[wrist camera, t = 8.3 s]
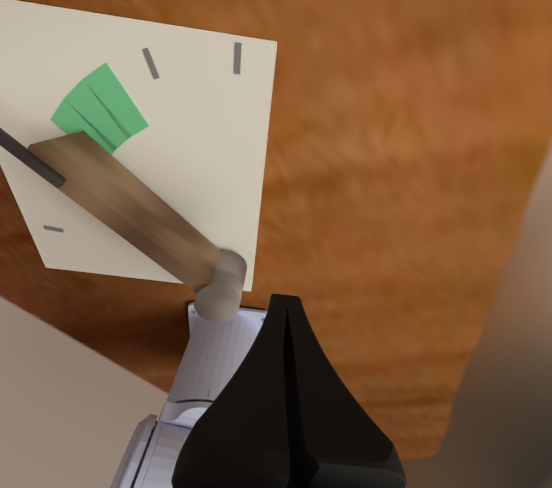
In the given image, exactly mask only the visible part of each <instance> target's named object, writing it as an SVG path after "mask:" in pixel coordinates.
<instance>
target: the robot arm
mask: <svg viewBox="0 0 552 488" xmlns="http://www.w3.org/2000/svg"><path fill="white" fill-rule="evenodd" d="M193 310H194V311H193ZM188 316H189V329H190V339H189V341H188V344H187V347H186V350H185V352H184V355H183V358H182V360H181V363H180V366H179V368H178V371H177V374H176V377H175V379H174V382H173V385H172V387H171V390H170V393H169V396H168V398H167V401H166V402H165V404H164V406H163V409H162V412H161V414H160V417H159V419H158V421H156V418H157V415H153V414H150V415H149V416H148V417H147V418H145V419H144V420H142V421H141V422H139V423H138V425H137V427H136V429H135V431H134V433H133V436H132V438H131V440H130V442H129V444H128V446H127V449H126V451H125V453H124V456H123V458H122V460H121V463H120V465H119V467H118V470H117V472H116V474H115V477H114V479H113V482H112V484H111V487H110V488H404V487H405V486H406V477H405V473H404V470H403V467H402V464H401V461H400V459H399V456H398V454H397V451H396V449H395V447H394V444H393V443H392V442H391V441H390V439H389V438H388V437H387V436H386V435H385V434H384V433H383V432H382V431H381V430H380V429H379V427H378V426H377V425H376V424H375V423H374V422H373V421H372V419H371V418H370V417H369V416H368V415H367V413H366V412H365V411H364V410H363V409H362V407H361V406H360V405H359V404H358V402H357V401H356V400H355V398H354V397H353V396H352V394H351V393H350V392H349V390H348V389H347V388H346V386H345V385H344V384H343V382H342V381H341V379H340V378H339V376H338V375H337V373H336V372H335V370H334V369H333V367H332V365H331V364H330V362H329V360H328V359H327V357H326V355H325V354H324V352H323V350H322V348H321V346H320V344H319V342H318V340H317V338H316V336H315V334H314V332H313V330H312V328H311V326H310V323H309V321H308V319H307V316H306V314H305V311H304V308H303V305H302V302H301V299H300V298H299V297H298V296H289V295H281V294H272V295H271V298H270V304H269V308H268V311H265V310H257V309H248V308H239V311H238V314H237V316H236V317H235V318H234V319H233V320H231V321H229V322H225V323H214V322H210V321H207V320H205V319H203V318H202V317H200V316H199V315H198V314H197V312H196V311H195V309H194V302H191V303H190V304H189V305H188ZM263 318H265V319H263Z"/></svg>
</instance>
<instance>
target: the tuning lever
mask: <svg viewBox="0 0 552 488" xmlns="http://www.w3.org/2000/svg"><path fill="white" fill-rule="evenodd" d="M0 146H1V147H3V148H4V149H5V150H7V151H8V152H9V153H11V154H12V155H13V156H15V157H16V158H17V159H19V160H20V161H21V162H22V163H24V164H25V165H26V166H28V167H29V168H30V169H32V170H33V171H34V172H36V173H37V174H38V175H40V176H41V177H42V178H44V179H45V180H46V181H48V182H49V183H50V184H52V185H53V186H54V187H56V188H57V189H58V190H60V191H61V192H62V193H64V194H65V195H66V196H68V197H69V198H70V199H72V200H73V201H74V202H76V203H77V204H78V205H80V206H81V207H82V208H84V209H85V210H86V211H88V212H89V213H90V214H92V215H93V216H94V217H96V218H97V219H98V220H100V221H101V222H102V223H104V224H105V225H106V226H108V227H109V228H110V229H112V230H113V231H114V232H116V233H117V234H118V235H120V236H121V237H122V238H124V239H125V240H126V241H128V242H129V243H130V244H132V245H133V246H134V247H136V248H137V249H138V250H140V251H141V252H142V253H144V254H145V255H146V256H148V257H149V258H150V259H152V260H153V261H154V262H156V263H157V264H158V265H160V266H161V267H162V268H164V269H165V270H166V271H168V272H169V273H170V274H172V275H173V276H174V277H175V278H177V279H178V280H179V281H181V282H182V283H183V284H185V285H186V286H187V287H189V288H190V289H191V290H193V291H194V292H195V293H197V296H196V298H195V301H194V309H195V311H196V312H197V314H198V315H199V316H200V317H202V318H203V319H205V320H207V321H210V322H214V323H225V322H229V321H231V320H233V319H234V318H235V317H236V316H237V314H238V311H239V306H240V301H241V296H242V291H243V286H244V281H245V276H246V271H247V264H246V261H245V260H244V258H243V257H242V256H241V255H239V254H237V253H235V252H232V251H220V250H219V249H218V248H217V247H216V246H215V245H214V244H213V243H211V242H210V241H209V240H208V239H207V238H206V237H205V236H203V235H202V234H201V233H200V232H199V231H198V230H197V229H195V228H194V227H193V226H192V225H191V224H190V223H189V222H187V221H186V220H185V219H184V218H183V217H182V216H181V215H179V214H178V213H177V212H176V211H175V210H174V209H173V208H171V207H170V206H169V205H168V204H167V203H166V202H165V201H163V200H162V199H161V198H160V197H159V196H158V195H157V194H155V193H154V192H153V191H152V190H151V189H150V188H149V187H147V186H146V185H145V184H144V183H143V182H142V181H141V180H139V179H138V178H137V177H136V176H135V175H134V174H133V173H131V172H130V171H129V170H128V169H127V168H126V167H125V166H123V165H122V164H121V163H120V162H119V161H118V160H117V159H116V158H114V157H113V156H112V155H111V154H110V153H109V152H108V151H106V150H105V149H104V148H103V147H102V146H101V145H100V144H98V143H97V142H96V141H95V140H94V139H93V138H92V137H90V136H89V135H88V134H87V133H86V132H85V131H80V132H76V133H72V134H68V135H65V136H61V137H57V138H53V139H49V140H45V141H41V142H38V143H34V144H30V145H29V147H28V148H26V147H24V146H23V145H22V144H21V143H19V142H18V141H17V140H15V139H14V138H13V137H12V136H10V135H9V134H8V133H6V132H5V131H4V130H3V129H1V128H0Z"/></svg>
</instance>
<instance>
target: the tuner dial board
mask: <svg viewBox="0 0 552 488" xmlns="http://www.w3.org/2000/svg"><path fill="white" fill-rule="evenodd" d="M276 51H277V42H276V41H269V40H263V39H257V38H250V37H244V36H238V35H231V34H225V33H219V32H212V31H206V30H200V29H193V28H187V27H181V26H174V25H168V24H162V23H155V22H149V21H143V20H136V19H130V18H124V17H117V16H111V15H105V14H98V13H92V12H86V11H80V10H73V9H67V8H61V7H54V6H48V5H42V4H35V3H29V2H23V1H16V0H0V128H1V129H3V130H4V131H5V132H6V133H8V134H9V135H10V136H12V137H13V138H14V139H15V140H17V141H18V142H19V143H21V144H22V145H23V146H24V147H26V148H28V147H29V145H30V144H34V143H38V142H41V141H45V140H49V139H53V138H57V137H61V136H65V135H68V134H72V133H76V132H80V131H85V132H86V133H87V134H88V135H89V136H90V137H92V138H93V139H94V140H95V141H96V142H97V143H98V144H100V145H101V146H102V147H103V148H104V149H105V150H106V151H108V152H109V153H110V154H111V155H112V156H113V157H114V158H116V159H117V160H118V161H119V162H120V163H121V164H122V165H123V166H125V167H126V168H127V169H128V170H129V171H130V172H131V173H133V174H134V175H135V176H136V177H137V178H138V179H139V180H141V181H142V182H143V183H144V184H145V185H146V186H147V187H149V188H150V189H151V190H152V191H153V192H154V193H155V194H157V195H158V196H159V197H160V198H161V199H162V200H163V201H165V202H166V203H167V204H168V205H169V206H170V207H171V208H173V209H174V210H175V211H176V212H177V213H178V214H179V215H181V216H182V217H183V218H184V219H185V220H186V221H187V222H189V223H190V224H191V225H192V226H193V227H194V228H195V229H197V230H198V231H199V232H200V233H201V234H202V235H203V236H205V237H206V238H207V239H208V240H209V241H210V242H211V243H213V244H214V245H215V246H216V247H217V248H218V249H219V250H220V251H232V252H235V253H237V254H239V255H241V256H242V257H243V258H244V260H245V261H246V264H247V271H246V276H245V281H244V286H243V291H250V292H251V289H252V282H253V272H254V263H255V253H256V244H257V234H258V224H259V215H260V205H261V196H262V186H263V176H264V167H265V157H266V147H267V138H268V128H269V119H270V109H271V99H272V90H273V80H274V71H275V61H276ZM0 165H1V167H2V170H3V172H4V174H5V177H6V179H7V181H8V183H9V186H10V188H11V190H12V192H13V195H14V197H15V199H16V201H17V204H18V206H19V208H20V210H21V213H22V215H23V217H24V219H25V222H26V224H27V226H28V228H29V231H30V233H31V235H32V238H33V240H34V242H35V244H36V247H37V249H38V251H39V253H40V256H41V258H42V260H43V262H44V265H45V267H46V268H54V269H63V270H71V271H80V272H88V273H97V274H105V275H114V276H122V277H131V278H139V279H148V280H156V281H165V282H173V283H182V282H181V281H179V280H178V279H177V278H175V277H174V276H173V275H172V274H170V273H169V272H168V271H166V270H165V269H164V268H162V267H161V266H160V265H158V264H157V263H156V262H154V261H153V260H152V259H150V258H149V257H148V256H146V255H145V254H144V253H142V252H141V251H140V250H138V249H137V248H136V247H134V246H133V245H132V244H130V243H129V242H128V241H126V240H125V239H124V238H122V237H121V236H120V235H118V234H117V233H116V232H114V231H113V230H112V229H110V228H109V227H108V226H106V225H105V224H104V223H102V222H101V221H100V220H98V219H97V218H96V217H94V216H93V215H92V214H90V213H89V212H88V211H86V210H85V209H84V208H82V207H81V206H80V205H78V204H77V203H76V202H74V201H73V200H72V199H70V198H69V197H68V196H66V195H65V194H64V193H62V192H61V191H60V190H58V189H57V188H56V187H54V186H53V185H52V184H50V183H49V182H48V181H46V180H45V179H44V178H42V177H41V176H40V175H38V174H37V173H36V172H34V171H33V170H32V169H30V168H29V167H28V166H26V165H25V164H24V163H22V162H21V161H20V160H19V159H17V158H16V157H15V156H13V155H12V154H11V153H9V152H8V151H7V150H5V149H4V148H3V147H1V146H0ZM182 284H183V283H182Z"/></svg>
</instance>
